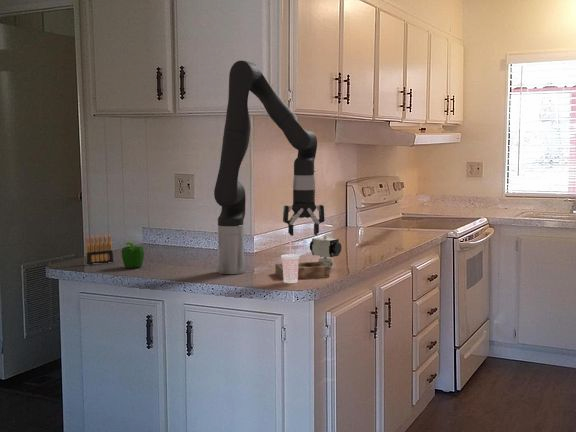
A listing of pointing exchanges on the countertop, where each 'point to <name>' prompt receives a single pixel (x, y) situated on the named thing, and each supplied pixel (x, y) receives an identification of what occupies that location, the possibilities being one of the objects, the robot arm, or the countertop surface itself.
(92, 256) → the ammunition clip
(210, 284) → the countertop surface
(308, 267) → the socket block
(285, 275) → the beverage cup
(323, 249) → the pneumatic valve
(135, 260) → the bell pepper
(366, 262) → the countertop surface
